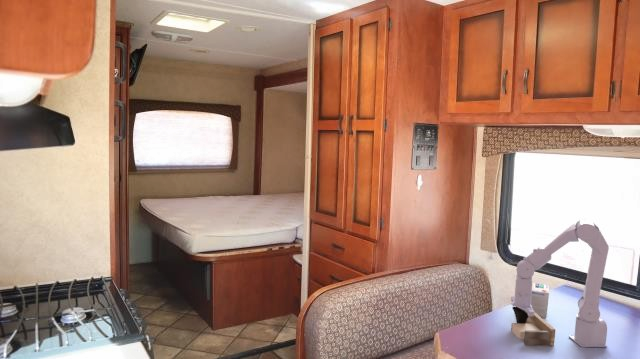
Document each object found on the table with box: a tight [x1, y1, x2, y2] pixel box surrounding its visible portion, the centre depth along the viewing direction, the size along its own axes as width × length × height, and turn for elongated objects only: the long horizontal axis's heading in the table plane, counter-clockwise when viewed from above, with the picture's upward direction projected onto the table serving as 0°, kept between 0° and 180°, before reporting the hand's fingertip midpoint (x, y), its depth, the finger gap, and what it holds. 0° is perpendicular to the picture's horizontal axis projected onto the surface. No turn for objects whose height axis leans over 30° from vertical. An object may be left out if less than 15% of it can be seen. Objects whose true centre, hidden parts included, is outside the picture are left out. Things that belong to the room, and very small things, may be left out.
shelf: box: [523, 312, 556, 347], centre depth 170 cm, size 10×18×6 cm, turn 2°
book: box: [510, 322, 541, 340], centre depth 170 cm, size 8×7×3 cm
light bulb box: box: [531, 282, 550, 319], centre depth 190 cm, size 11×7×11 cm, turn 154°
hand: (520, 326), depth 174 cm, fingers closed
